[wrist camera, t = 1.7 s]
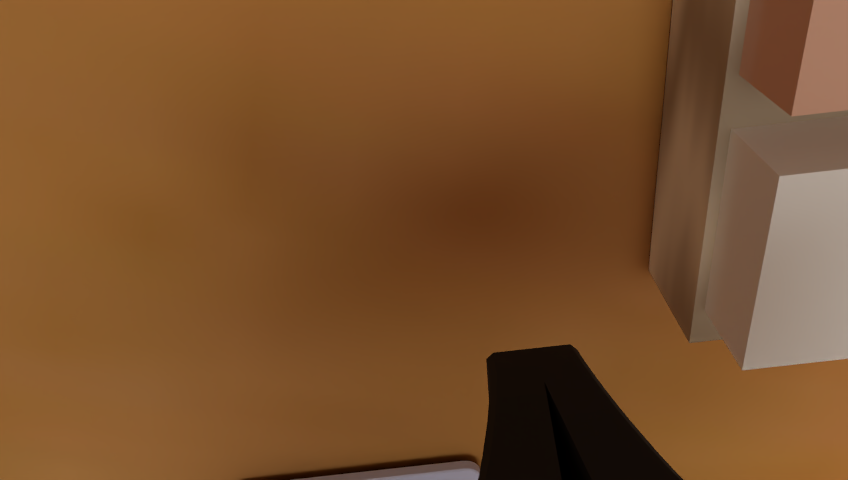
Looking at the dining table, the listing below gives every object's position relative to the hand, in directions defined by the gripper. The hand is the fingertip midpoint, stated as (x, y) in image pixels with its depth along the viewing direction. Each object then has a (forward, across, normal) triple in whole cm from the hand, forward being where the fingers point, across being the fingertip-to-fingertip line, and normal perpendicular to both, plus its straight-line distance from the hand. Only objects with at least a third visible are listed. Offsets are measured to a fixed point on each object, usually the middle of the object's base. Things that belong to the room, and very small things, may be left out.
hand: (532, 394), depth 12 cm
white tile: (+4, -7, 0) cm, 8 cm away
